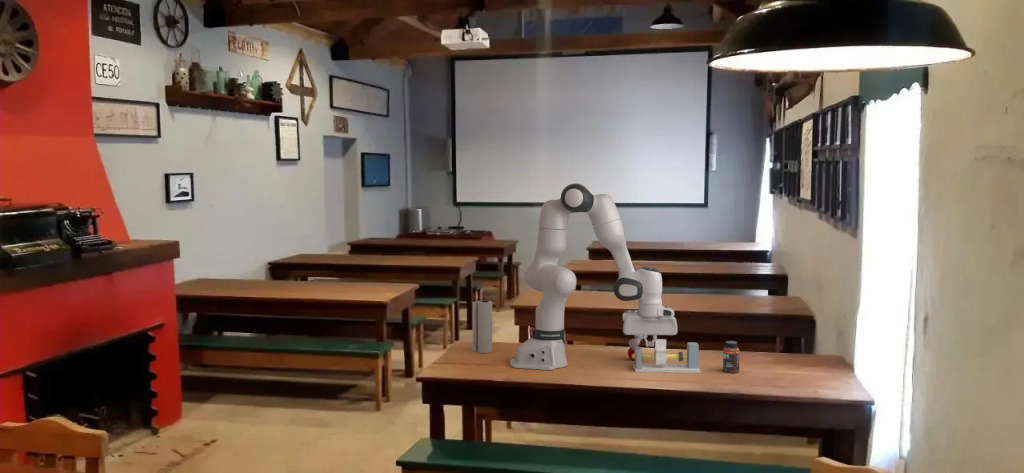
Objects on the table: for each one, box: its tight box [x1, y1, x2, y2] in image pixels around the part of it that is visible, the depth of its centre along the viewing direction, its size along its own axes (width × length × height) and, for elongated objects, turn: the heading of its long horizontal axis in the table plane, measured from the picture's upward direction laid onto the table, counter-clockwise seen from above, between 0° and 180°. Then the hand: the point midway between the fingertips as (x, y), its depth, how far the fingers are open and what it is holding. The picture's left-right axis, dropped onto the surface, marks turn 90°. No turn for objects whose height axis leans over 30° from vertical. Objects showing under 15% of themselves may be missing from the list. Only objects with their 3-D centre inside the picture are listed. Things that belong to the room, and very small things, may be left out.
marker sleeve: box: [653, 338, 668, 365], centre depth 299 cm, size 4×5×9 cm
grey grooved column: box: [472, 300, 493, 354], centre depth 327 cm, size 7×6×21 cm
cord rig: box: [632, 341, 701, 374], centre depth 299 cm, size 25×9×10 cm, turn 88°
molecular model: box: [627, 335, 644, 361], centre depth 314 cm, size 18×6×10 cm, turn 162°
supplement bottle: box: [722, 340, 740, 374], centre depth 296 cm, size 6×6×11 cm
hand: (649, 346), depth 299 cm, fingers closed
